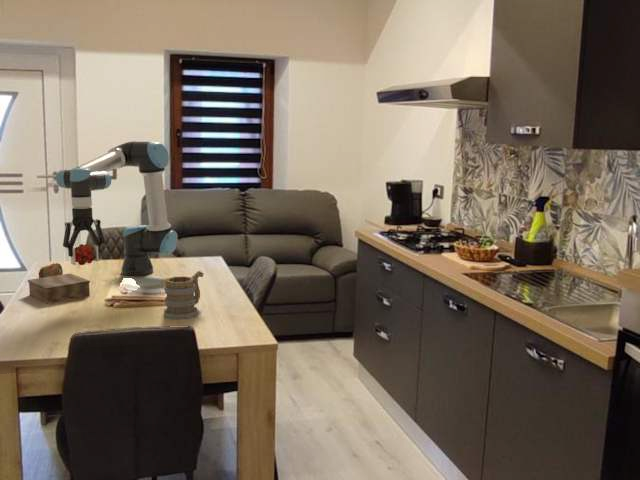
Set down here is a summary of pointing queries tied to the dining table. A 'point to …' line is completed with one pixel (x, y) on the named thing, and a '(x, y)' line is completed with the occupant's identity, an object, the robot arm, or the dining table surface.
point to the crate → (59, 288)
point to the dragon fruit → (84, 254)
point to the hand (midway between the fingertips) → (85, 262)
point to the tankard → (182, 296)
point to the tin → (50, 270)
